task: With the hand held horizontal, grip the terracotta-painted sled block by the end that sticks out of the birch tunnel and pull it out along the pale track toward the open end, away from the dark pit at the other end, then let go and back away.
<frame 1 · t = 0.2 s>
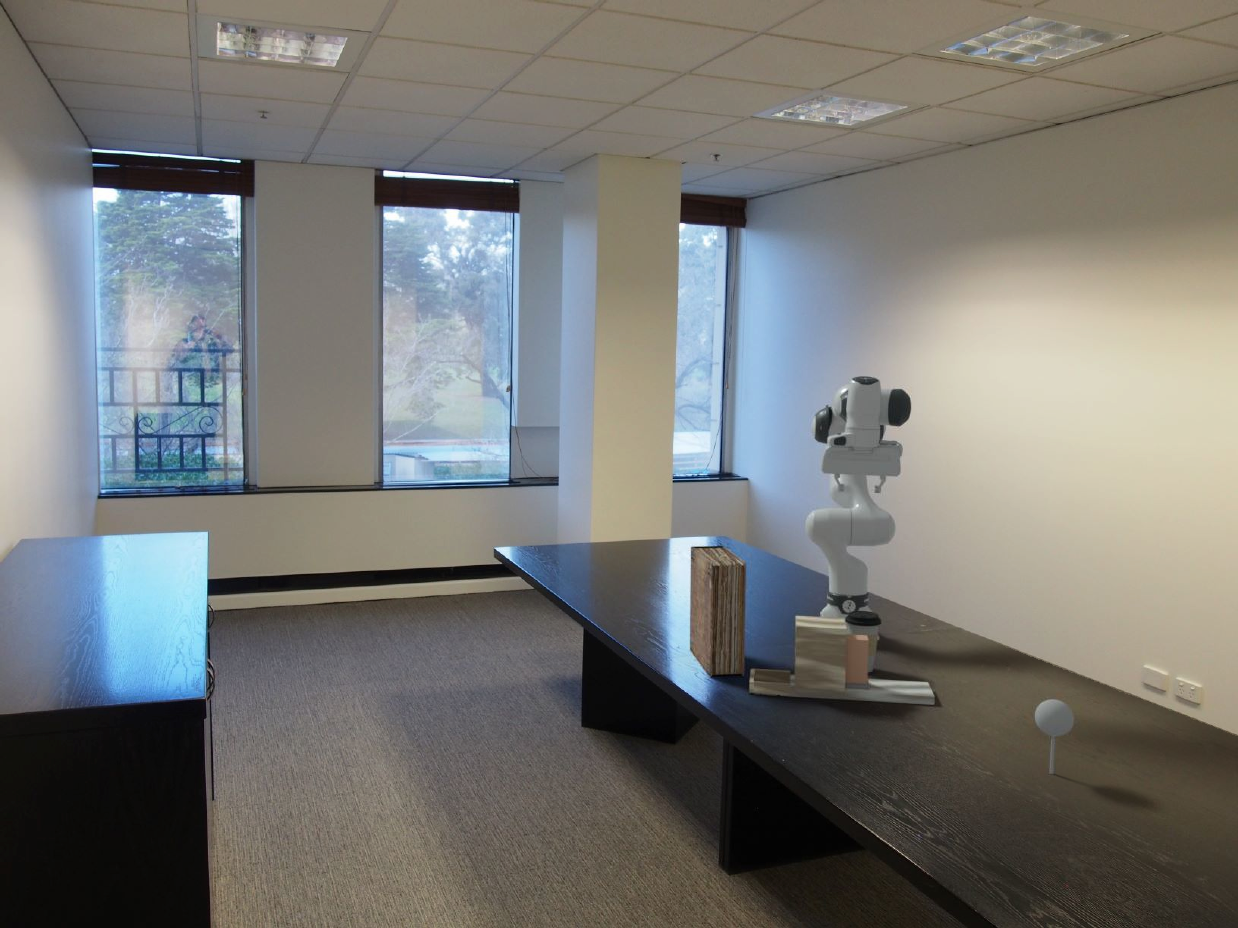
hand: (859, 491, 258), 48 cm above the table, tool pointing down, fingers open, 8 cm apart
coffee cup: (861, 669, 264), on the table
lollipop: (1051, 774, 197), on the table
book: (715, 663, 269), on the table
sled block: (844, 660, 244), point 8 cm above the table, slide at 0.0 cm
tunnel track: (839, 691, 245), on the table
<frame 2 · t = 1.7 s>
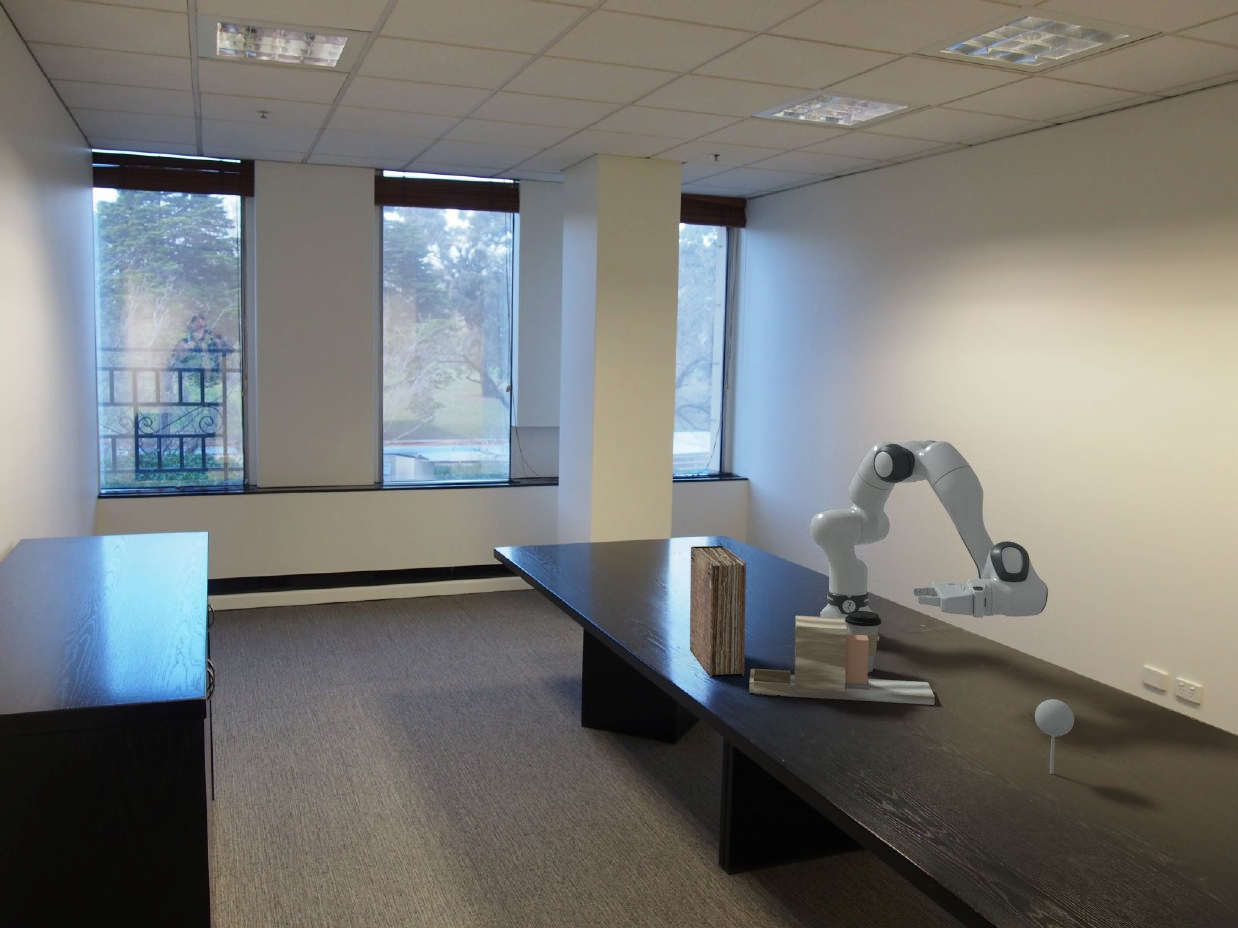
hand: (915, 595, 240), 25 cm above the table, tool horizontal, fingers open, 8 cm apart
nothing on the table moved.
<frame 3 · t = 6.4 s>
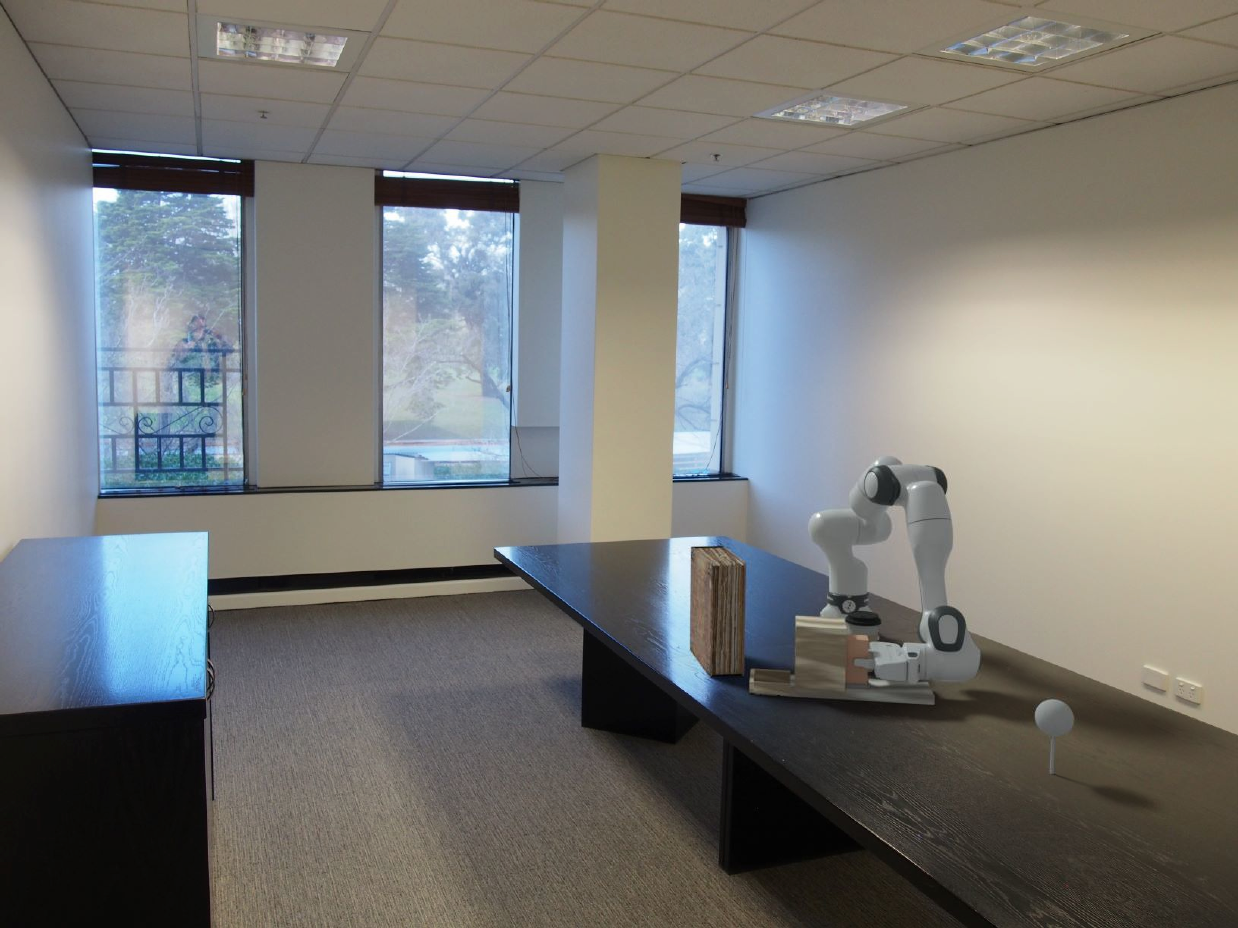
hand: (853, 657, 244), 9 cm above the table, tool horizontal, fingers closed on sled block, 4 cm apart
sled block: (844, 660, 244), point 8 cm above the table, slide at 0.0 cm, touching gripper
everything else where it was.
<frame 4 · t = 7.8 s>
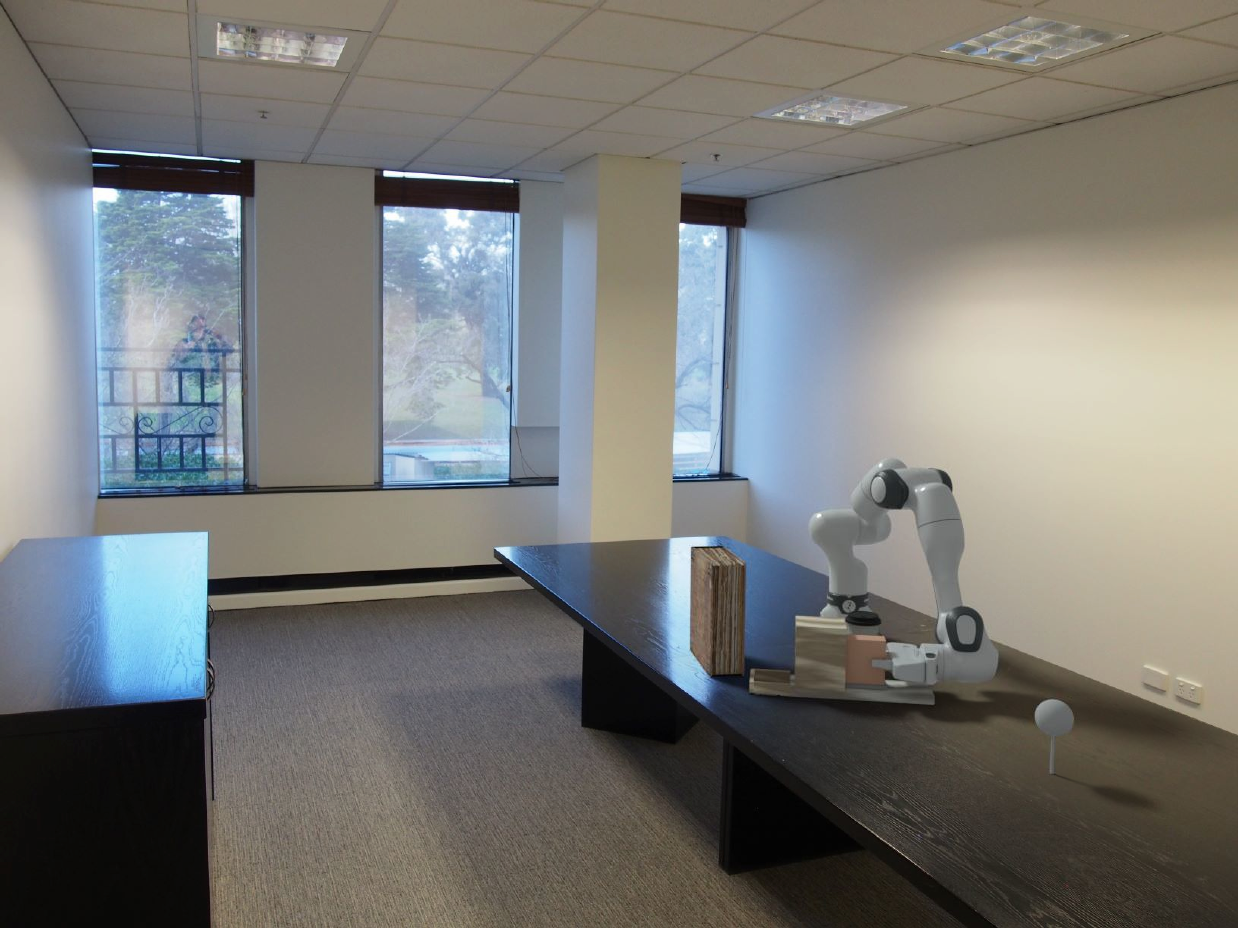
hand: (870, 658, 243), 9 cm above the table, tool horizontal, fingers closed on sled block, 4 cm apart
sled block: (861, 661, 244), point 8 cm above the table, slide at 4.2 cm, touching gripper
everything else where it was.
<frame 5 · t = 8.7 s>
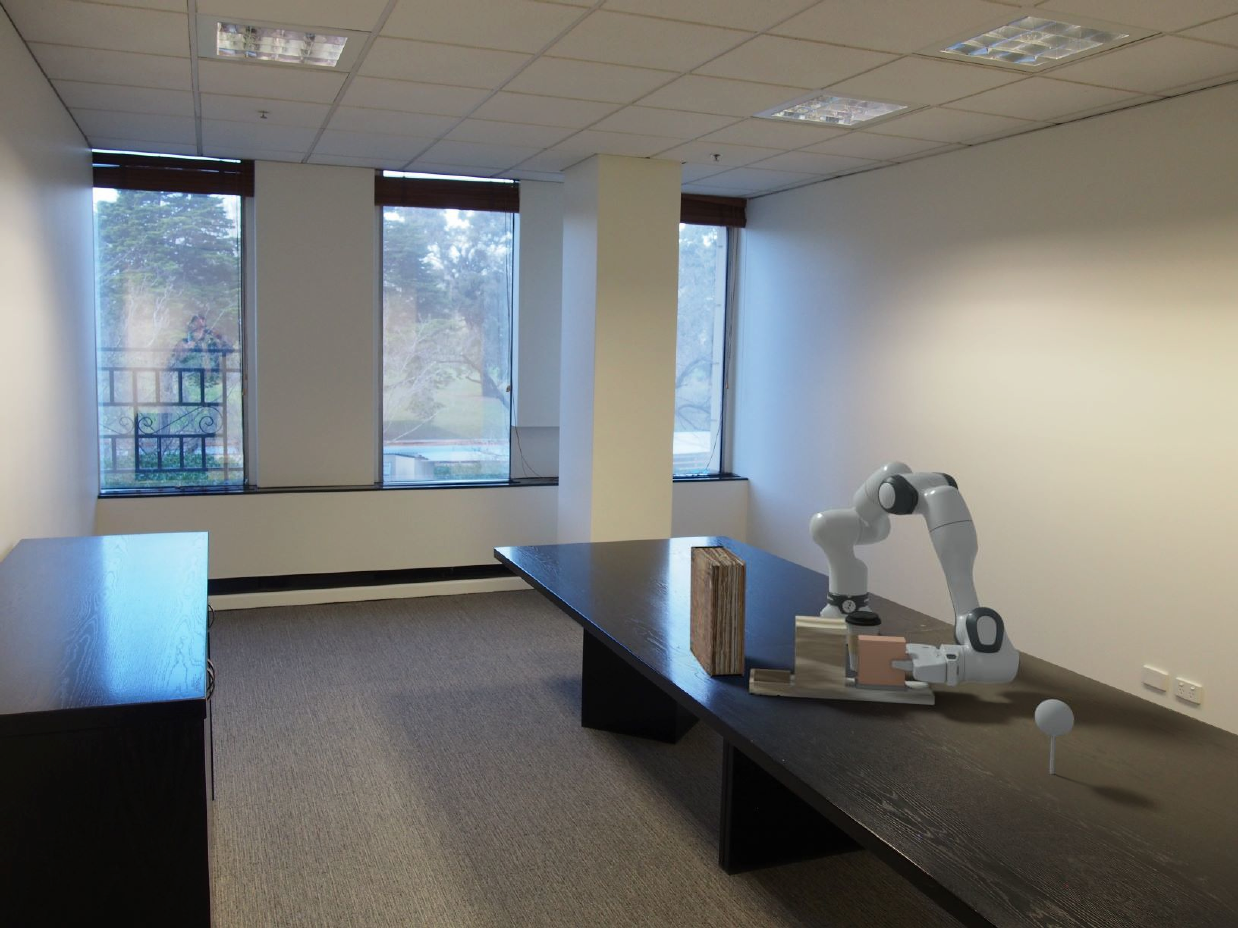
hand: (890, 659, 242), 9 cm above the table, tool horizontal, fingers closed on sled block, 4 cm apart
sled block: (881, 662, 243), point 8 cm above the table, slide at 8.9 cm, touching gripper
everything else where it was.
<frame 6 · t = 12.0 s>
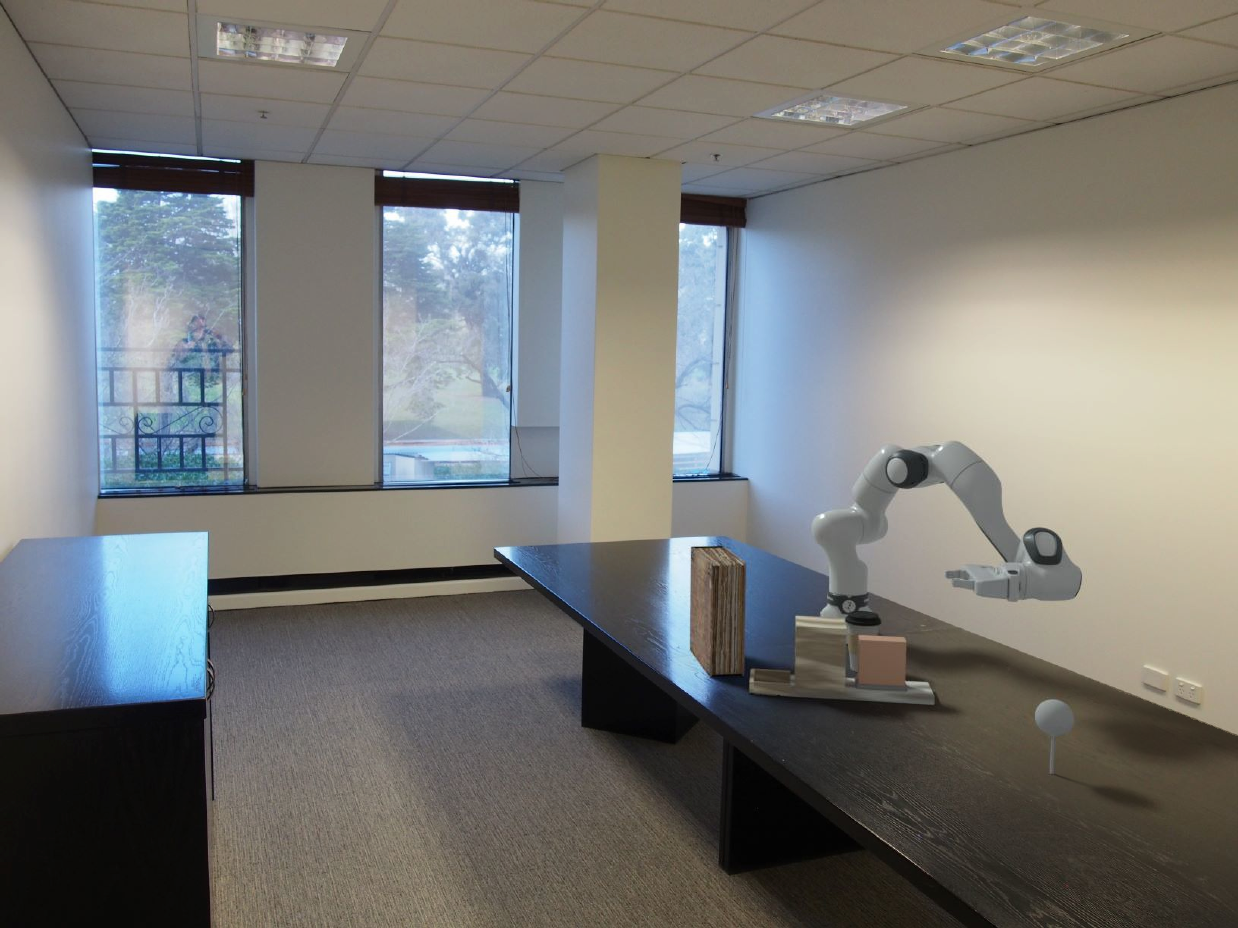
hand: (948, 578, 238), 30 cm above the table, tool horizontal, fingers open, 8 cm apart
sled block: (881, 662, 243), point 8 cm above the table, slide at 8.9 cm
everything else where it was.
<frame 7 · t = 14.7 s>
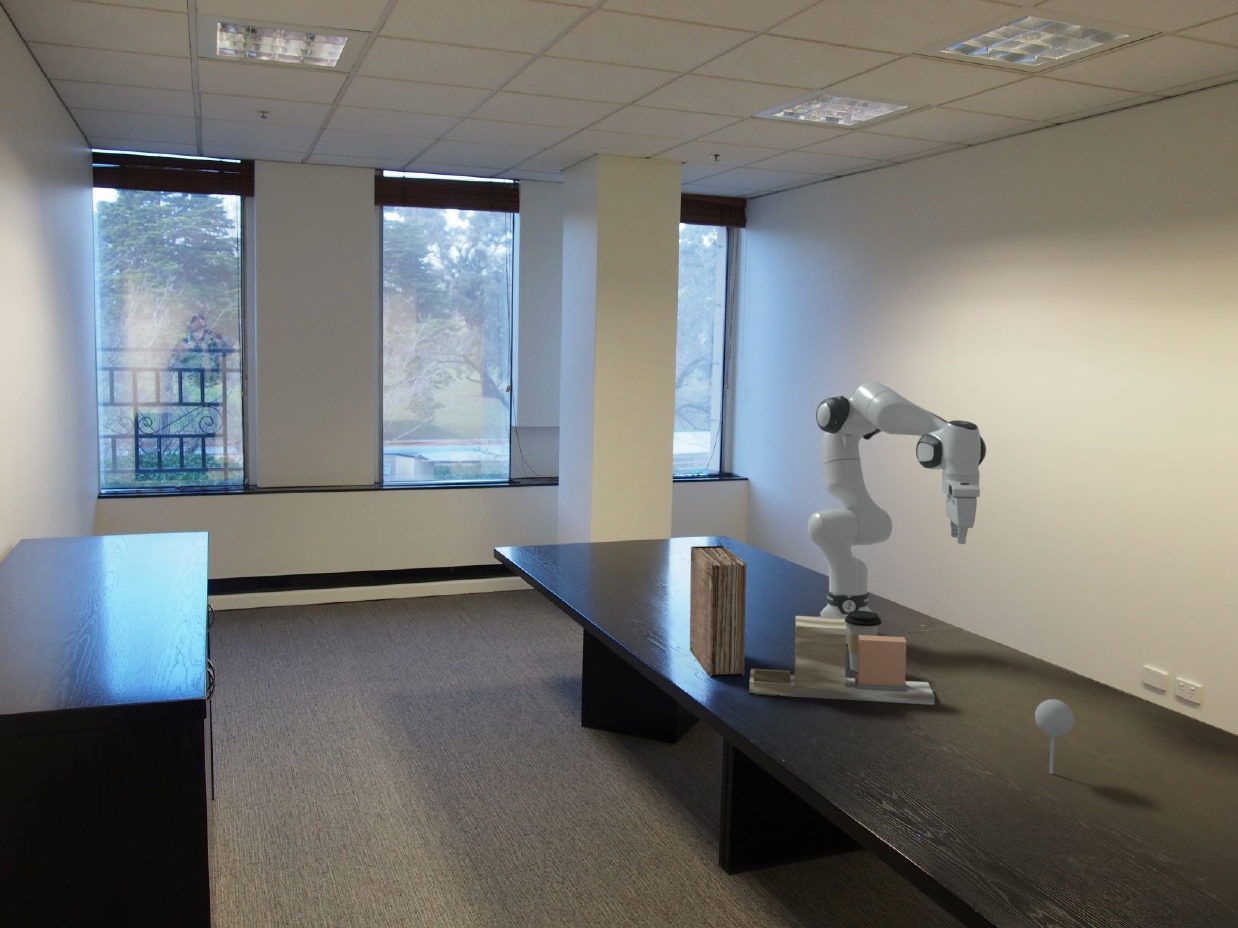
hand: (958, 540, 249), 37 cm above the table, tool pointing down, fingers open, 8 cm apart
nothing on the table moved.
at the end: sled block slide at 8.9 cm; sled block inside the target area (2.6 cm from its centre), point 8.1 cm above the table; the gripper is holding nothing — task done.
